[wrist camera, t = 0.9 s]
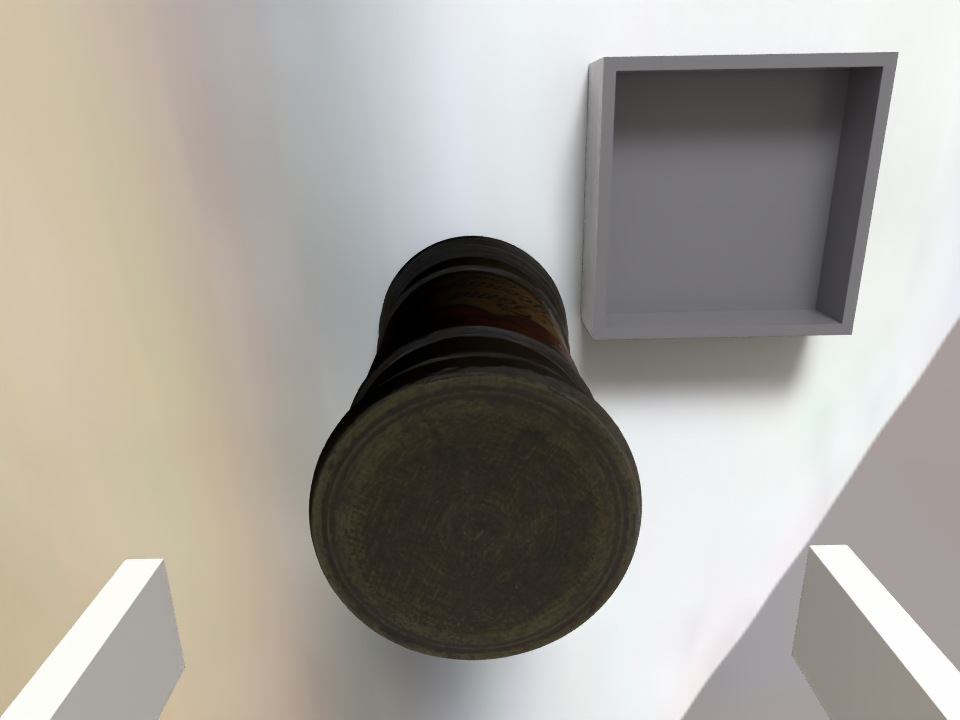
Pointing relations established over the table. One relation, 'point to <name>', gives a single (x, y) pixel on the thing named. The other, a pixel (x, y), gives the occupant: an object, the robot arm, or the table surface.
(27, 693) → the robot arm
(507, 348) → the container
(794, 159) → the tray
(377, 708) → the table surface
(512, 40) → the table surface
